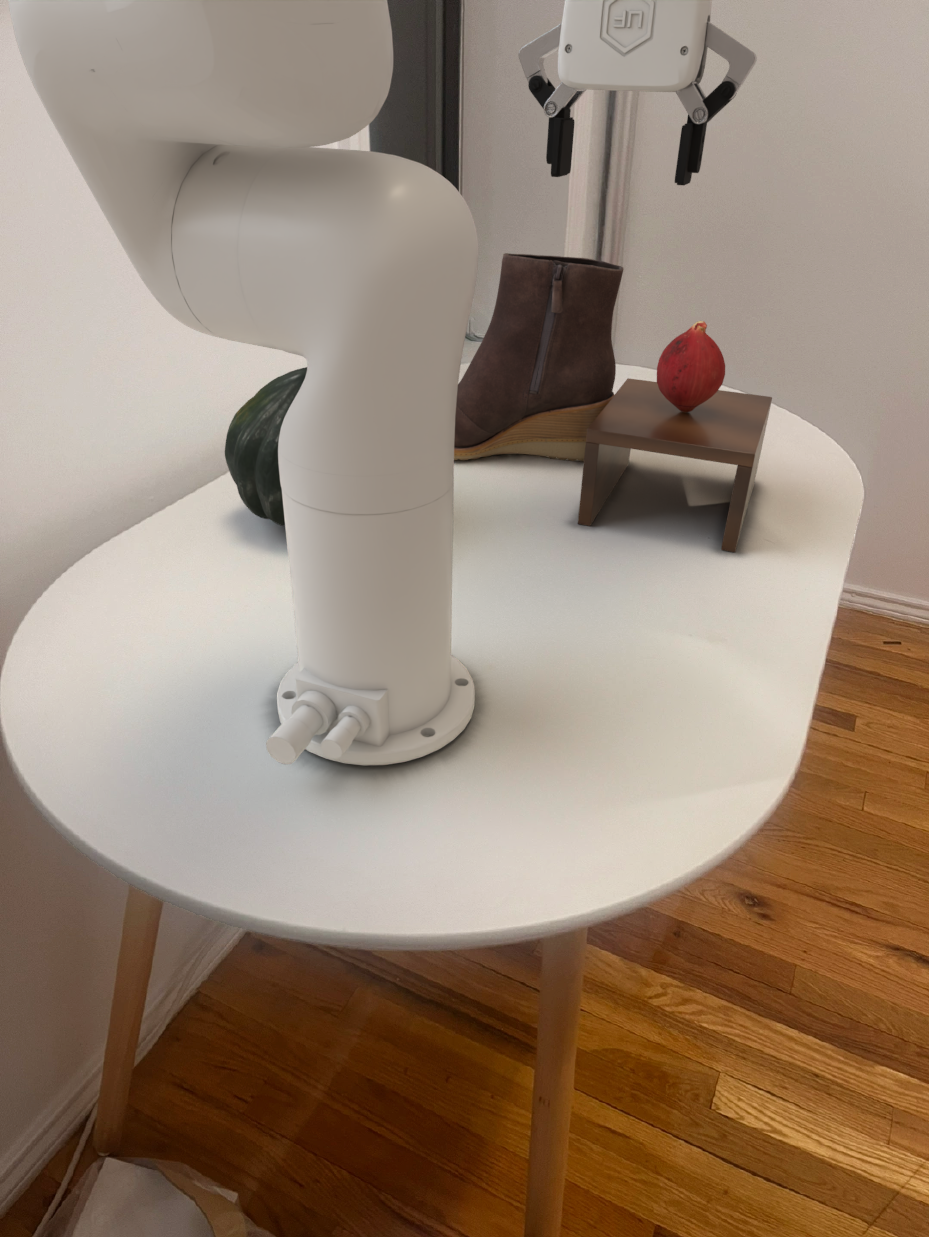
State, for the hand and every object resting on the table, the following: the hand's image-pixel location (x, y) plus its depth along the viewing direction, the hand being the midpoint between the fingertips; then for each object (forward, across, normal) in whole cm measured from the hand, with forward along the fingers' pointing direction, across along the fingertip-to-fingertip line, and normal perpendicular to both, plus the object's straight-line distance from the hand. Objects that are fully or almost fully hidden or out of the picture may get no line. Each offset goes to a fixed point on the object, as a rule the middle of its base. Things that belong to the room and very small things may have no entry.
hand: (620, 179), depth 68 cm
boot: (+28, -13, +11) cm, 33 cm away
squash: (+28, -22, -12) cm, 37 cm away
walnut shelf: (+28, +7, +5) cm, 29 cm away
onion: (+19, +7, +5) cm, 21 cm away
